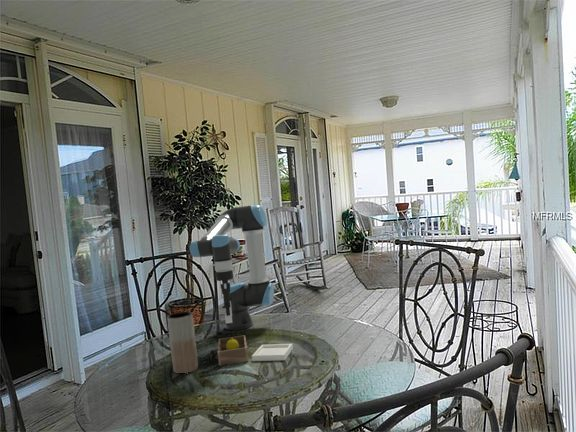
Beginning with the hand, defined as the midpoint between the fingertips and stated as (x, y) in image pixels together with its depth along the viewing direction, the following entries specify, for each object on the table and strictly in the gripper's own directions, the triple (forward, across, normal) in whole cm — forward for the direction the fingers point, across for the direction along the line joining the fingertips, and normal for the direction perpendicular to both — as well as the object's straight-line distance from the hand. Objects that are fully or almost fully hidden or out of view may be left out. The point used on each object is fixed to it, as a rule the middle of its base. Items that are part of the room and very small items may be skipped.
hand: (229, 319), depth 190 cm
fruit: (+16, 0, 0) cm, 16 cm away
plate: (+16, +6, +17) cm, 24 cm away
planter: (+16, +8, -19) cm, 27 cm away
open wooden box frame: (+16, 0, 0) cm, 16 cm away
